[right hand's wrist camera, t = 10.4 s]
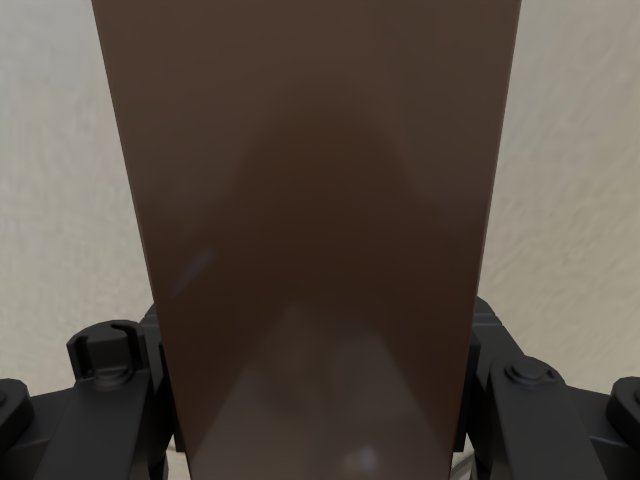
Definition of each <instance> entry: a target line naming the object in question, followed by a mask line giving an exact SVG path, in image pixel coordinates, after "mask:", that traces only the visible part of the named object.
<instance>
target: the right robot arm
mask: <svg viewBox="0 0 640 480" xmlns="http://www.w3.org/2000/svg"><path fill="white" fill-rule="evenodd" d="M66 346H67V349H68V353H69V357H70V361H71V364H72V368H73V372H74V376H75V379H76V382H75V384H74V387H72V388H68V389H65V390H61V391H56V392H51V393H47V394H42V395H37V396H33V397H30V395H29V392H28V389H27V386H26V385H25V384H24V383H23V382H22V381H20V380H15V379H9V378H7V379H0V480H168V471H169V468H168V461H167V456H166V450H167V447H168V445H169V442H170V440H171V437H172V435H174V441H175V447H176V452H185V449H184V445H183V440H182V435H181V430H180V425H179V420H178V416H177V411H176V406H175V401H174V396H173V392H172V387H171V382H170V377H169V372H168V367H167V363H166V358H165V353H164V348H163V343H162V339H161V334H160V329H159V324H158V319H157V314H156V310H155V305H154V304H153V305H152V306H151V307H150V309H149V310H148V312H147V313H146V314H145V318H143V319H142V320H141V321H140V323H137V322H134V321H130V320H111V321H106V322H101V323H97V324H95V325H92V326H90V327H87V328H85V329H83V330H82V331H80V332H78V333H77V334H75V335H74V336H73V337H72V338H71V339H70V340H69V341H68V342H67V344H66ZM466 433H468V436H469V438H470V441H471V443H472V446H473V448H474V454H472V455H470V456H469V457H467V458H466V459H464V460H463V461H462V462H460V463H459V464H458V465H457V466H456V467H454V468H453V469H452V470H451V472H450V479H449V480H640V377H632V376H631V377H625V378H620V379H619V380H618V381H616V382H615V383H614V384H613V388H612V391H611V394H610V395H607V394H602V393H597V392H593V391H588V390H583V389H578V388H575V387H571V386H567V385H566V383H565V381H564V380H563V378H562V377H561V376H560V374H559V373H558V371H556V370H555V369H554V368H552V367H551V366H549V365H548V364H547V363H545V362H542V361H540V360H538V359H536V358H533V357H529V356H525V355H524V353H523V352H522V351H521V349H520V348H519V346H518V345H517V344H516V342H515V341H514V339H513V338H512V337H511V335H510V334H509V332H508V331H507V330H506V328H505V327H504V326H502V323H501V321H500V320H499V319H498V317H497V316H495V313H494V312H493V310H492V309H491V307H490V306H489V305H488V303H487V302H485V301H484V300H482V299H481V298H479V297H478V296H477V299H476V306H475V313H474V319H473V326H472V333H471V339H470V346H469V352H468V359H467V366H466V372H465V379H464V386H463V392H462V399H461V406H460V412H459V419H458V426H457V432H456V439H455V446H454V452H463V451H464V445H465V439H466Z"/></svg>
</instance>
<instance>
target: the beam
mask: <svg viewBox="0 0 640 480" xmlns="http://www.w3.org/2000/svg"><path fill="white" fill-rule="evenodd" d="M91 1H92V6H93V11H94V16H95V21H96V25H97V30H98V35H99V40H100V45H101V49H102V54H103V59H104V64H105V69H106V74H107V78H108V83H109V88H110V93H111V98H112V102H113V107H114V112H115V117H116V122H117V127H118V131H119V136H120V141H121V146H122V151H123V155H124V160H125V165H126V170H127V175H128V180H129V184H130V189H131V194H132V199H133V204H134V208H135V213H136V218H137V223H138V228H139V233H140V237H141V242H142V247H143V252H144V257H145V261H146V266H147V271H148V276H149V281H150V286H151V290H152V295H153V300H154V305H155V310H156V314H157V319H158V324H159V329H160V334H161V339H162V343H163V348H164V353H165V358H166V363H167V367H168V372H169V377H170V382H171V387H172V392H173V396H174V401H175V406H176V411H177V416H178V420H179V425H180V430H181V435H182V440H183V445H184V449H185V454H186V459H187V464H188V469H189V473H190V478H191V480H449V479H450V472H451V465H452V459H453V452H454V446H455V439H456V432H457V426H458V419H459V412H460V406H461V399H462V392H463V386H464V379H465V372H466V366H467V359H468V352H469V346H470V339H471V333H472V326H473V319H474V313H475V306H476V299H477V293H478V286H479V279H480V273H481V266H482V259H483V253H484V246H485V239H486V233H487V226H488V219H489V213H490V206H491V200H492V193H493V186H494V180H495V173H496V166H497V160H498V153H499V146H500V140H501V133H502V126H503V120H504V113H505V106H506V100H507V93H508V87H509V80H510V73H511V67H512V60H513V53H514V47H515V40H516V33H517V27H518V20H519V13H520V7H521V0H91Z"/></svg>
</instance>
